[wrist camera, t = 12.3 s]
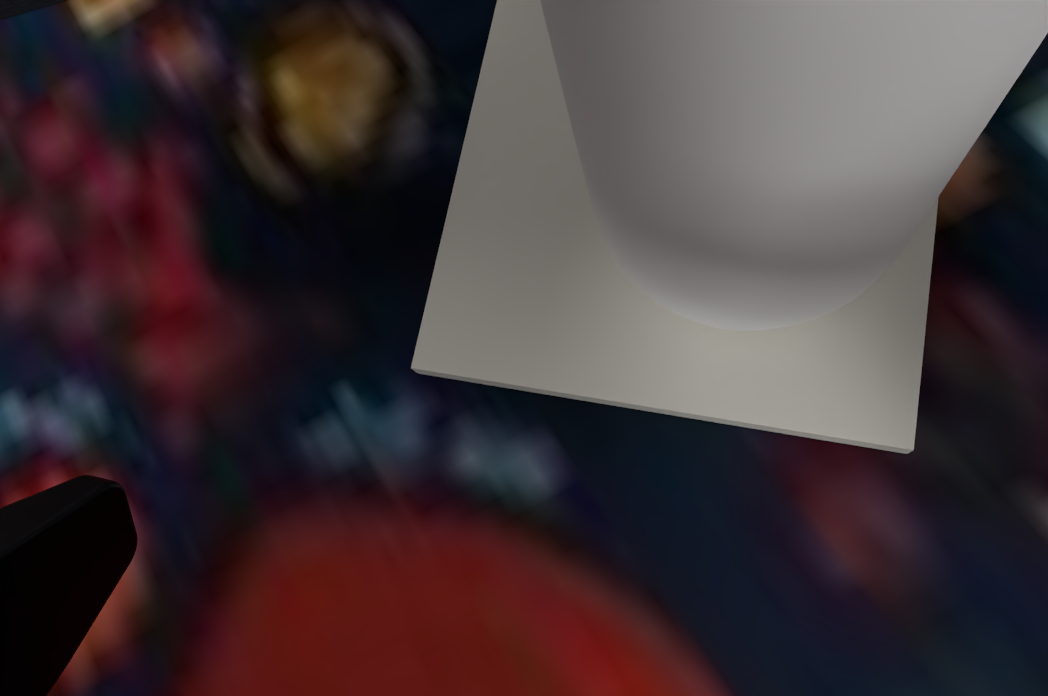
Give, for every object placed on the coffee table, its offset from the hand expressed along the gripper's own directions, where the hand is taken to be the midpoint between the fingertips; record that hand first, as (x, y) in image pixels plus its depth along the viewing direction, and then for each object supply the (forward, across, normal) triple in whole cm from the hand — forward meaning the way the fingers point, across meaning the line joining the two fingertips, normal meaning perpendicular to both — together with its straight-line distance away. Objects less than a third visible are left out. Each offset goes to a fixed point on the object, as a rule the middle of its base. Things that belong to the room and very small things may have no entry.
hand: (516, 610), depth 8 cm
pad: (+12, 0, 0) cm, 12 cm away
